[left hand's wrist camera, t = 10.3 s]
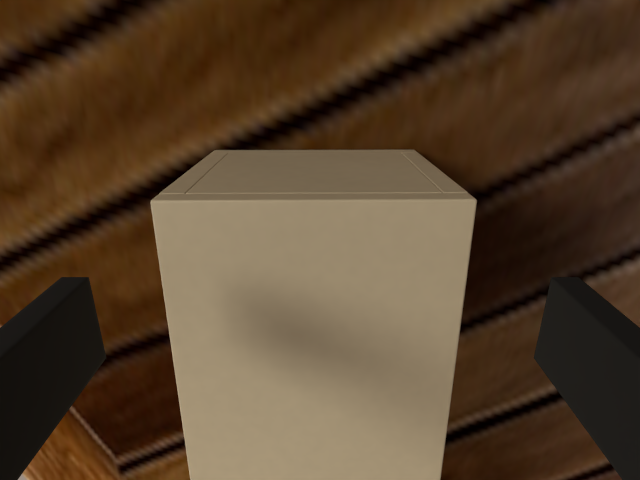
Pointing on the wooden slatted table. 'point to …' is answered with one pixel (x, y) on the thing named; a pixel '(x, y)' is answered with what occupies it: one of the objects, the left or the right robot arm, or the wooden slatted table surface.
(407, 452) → the cabinet
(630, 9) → the wooden slatted table surface
